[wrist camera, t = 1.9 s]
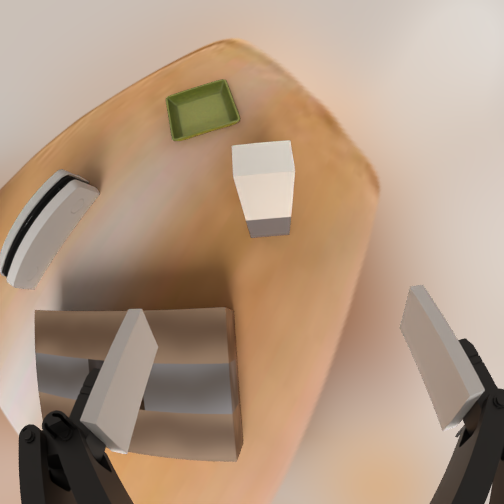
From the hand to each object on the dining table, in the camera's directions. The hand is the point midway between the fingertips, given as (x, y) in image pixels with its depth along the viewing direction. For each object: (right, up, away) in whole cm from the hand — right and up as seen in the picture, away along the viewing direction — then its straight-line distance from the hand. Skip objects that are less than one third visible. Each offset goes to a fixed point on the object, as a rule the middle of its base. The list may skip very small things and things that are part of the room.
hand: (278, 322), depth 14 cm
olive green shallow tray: (-8, +21, +23) cm, 33 cm away
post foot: (-14, -10, +15) cm, 22 cm away
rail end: (+1, +6, +18) cm, 19 cm away
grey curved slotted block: (-27, +5, +20) cm, 34 cm away
